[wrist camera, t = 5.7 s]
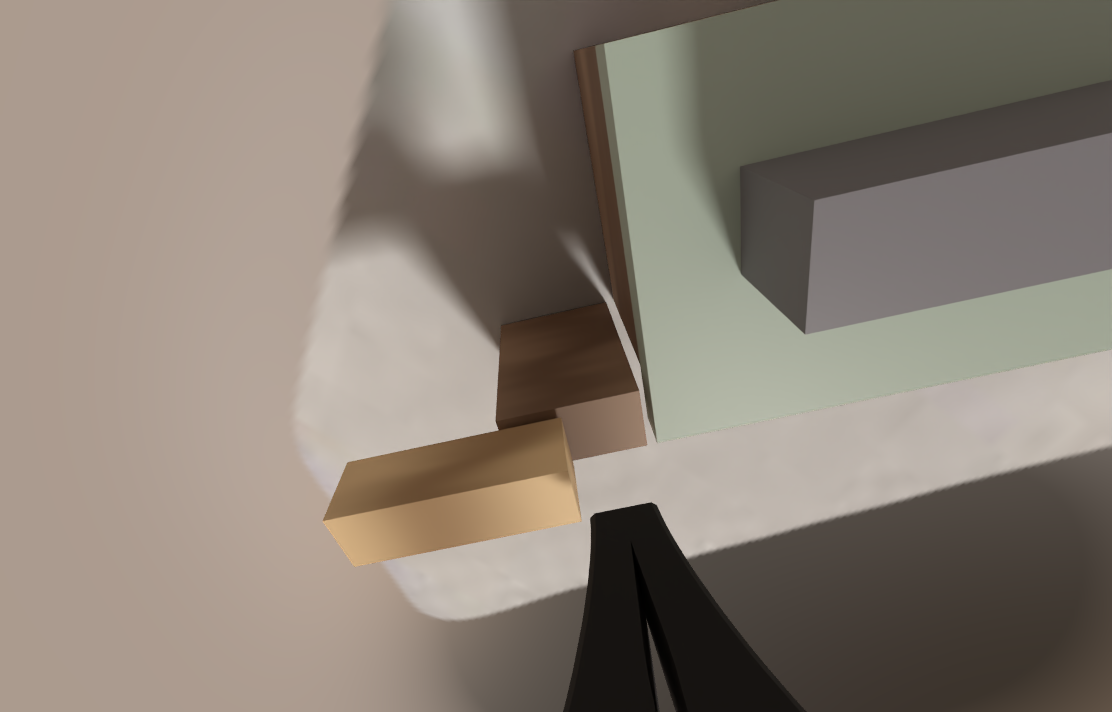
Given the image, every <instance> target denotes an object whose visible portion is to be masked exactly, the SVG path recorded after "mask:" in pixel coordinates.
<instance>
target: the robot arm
mask: <svg viewBox="0 0 1112 712" xmlns="http://www.w3.org/2000/svg"><path fill="white" fill-rule="evenodd" d="M590 522H591V554H590V567H589V578H588V586H587V593H586V600H585V608H584V615H583V622H582V627H581V632H580V637H579V643H578V648H577V653H576V658H575V663H574V668H573V673H572V678H571V682H570V686H569V690H568V694H567V699H566V703H565V707H564V711H563V712H659V705H658V698H657V691H656V683H655V677H654V670H653V663H652V656H651V649H650V642H649V635H648V628H647V622H648V625H649V628H650V631H651V635H652V637H653V641H654V644H655V647H656V650H657V654H658V657H659V660H660V663H661V666H662V669H663V673H664V676H665V679H666V682H667V685H668V688H669V691H670V695H671V698H672V701H673V704H674V707H675V710H676V712H806V711H805V710H804V709H803V707H801V705H800V704H799V703H798V702H797V701H796V700H795V699H794V698H793V697H792V695H791V694H790V693H789V692H788V691H787V690H786V688H785V687H784V686H783V685H782V684H781V683H780V681H779V680H778V679H777V678H776V677H775V676H774V675H773V674H772V672H771V671H770V670H769V669H768V668H767V666H766V665H765V664H764V663H763V662H762V660H761V659H760V658H759V657H758V655H757V654H756V653H755V652H754V651H753V649H752V648H751V647H750V646H749V644H748V643H747V642H746V641H745V639H744V638H743V637H742V636H741V634H740V633H739V632H738V630H737V629H736V628H735V627H734V625H733V624H732V623H731V621H730V620H729V619H728V618H727V616H726V615H725V614H724V612H723V611H722V609H721V608H720V607H719V605H718V604H717V603H716V602H715V600H714V599H713V597H712V596H711V594H710V593H709V591H708V590H707V589H706V587H705V586H704V584H703V583H702V582H701V580H700V579H699V577H698V576H697V575H696V573H695V571H694V570H693V568H692V567H691V565H690V564H689V562H688V561H687V559H686V558H685V556H684V554H683V553H682V551H681V550H680V548H679V546H678V545H677V543H676V542H675V540H674V538H673V536H672V535H671V533H670V531H669V529H668V527H667V526H666V524H665V522H664V520H663V518H662V516H661V514H660V511H659V509H658V507H657V505H655V504H653V503H645V504H640V505H635V506H630V507H625V508H620V509H615V510H610V511H605V512H600V513H595V514H594V515H593V516H592V517H591V518H590ZM646 619H647V621H646Z"/></svg>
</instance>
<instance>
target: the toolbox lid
mask: <svg viewBox="0 0 1112 712" xmlns="http://www.w3.org/2000/svg"><path fill="white" fill-rule="evenodd" d="M595 49H596V56H597V63H598V70H599V77H600V84H601V91H602V98H603V105H604V112H605V119H606V126H607V133H608V140H609V147H610V155H611V162H612V169H613V176H614V183H615V190H616V197H617V204H618V211H619V218H620V225H621V232H622V239H623V246H624V253H625V260H626V267H627V274H628V281H629V288H630V295H631V302H632V309H633V316H634V324H635V331H636V338H637V345H638V352H639V359H640V366H641V373H642V380H643V387H644V394H645V401H646V408H647V415H648V419H649V422H650V425H651V427H652V430H653V433H654V435H655V438H656V441H657V443H661V442H665V441H670V440H675V439H680V438H685V437H690V436H694V435H699V434H704V433H709V432H714V431H719V430H723V429H728V428H733V427H738V426H743V425H748V424H753V423H757V422H762V421H767V420H772V419H777V418H782V417H786V416H791V415H796V414H801V413H806V412H811V411H816V410H820V409H825V408H830V407H835V406H840V405H845V404H849V403H854V402H859V401H864V400H869V399H874V398H879V397H883V396H888V395H893V394H898V393H903V392H908V391H912V390H917V389H922V388H927V387H932V386H937V385H942V384H946V383H951V382H956V381H961V380H966V379H971V378H975V377H980V376H985V375H990V374H995V373H1000V372H1005V371H1009V370H1014V369H1019V368H1024V367H1029V366H1034V365H1038V364H1043V363H1048V362H1053V361H1058V360H1063V359H1068V358H1072V357H1077V356H1082V355H1087V354H1092V353H1097V352H1101V351H1106V350H1111V349H1112V0H778V1H774V2H770V3H766V4H762V5H758V6H754V7H750V8H746V9H741V10H737V11H733V12H729V13H725V14H721V15H717V16H713V17H709V18H705V19H701V20H697V21H693V22H689V23H685V24H681V25H677V26H673V27H669V28H665V29H661V30H657V31H653V32H649V33H645V34H641V35H637V36H633V37H629V38H625V39H621V40H617V41H613V42H609V43H605V44H601V45H597V46H595Z"/></svg>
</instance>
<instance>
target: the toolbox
mask: <svg viewBox="0 0 1112 712" xmlns="http://www.w3.org/2000/svg"><path fill="white" fill-rule="evenodd" d="M776 1H778V0H776ZM772 2H774V1H772ZM768 3H770V2H768ZM764 4H766V3H764ZM760 5H762V4H760ZM756 6H758V5H756ZM752 7H754V6H752ZM748 8H750V7H748ZM744 9H746V8H744ZM740 10H741V9H740ZM736 11H737V10H736ZM732 12H733V11H732ZM728 13H729V12H728ZM723 14H725V13H723ZM719 15H721V14H719ZM715 16H717V15H715ZM711 17H713V16H711ZM707 18H709V17H707ZM703 19H705V18H703ZM699 20H701V19H699ZM695 21H697V20H695ZM691 22H693V21H691ZM687 23H689V22H687ZM683 24H685V23H683ZM679 25H681V24H679ZM675 26H677V25H675ZM671 27H673V26H671ZM667 28H669V27H667ZM663 29H665V28H663ZM659 30H661V29H659ZM655 31H657V30H655ZM651 32H653V31H651ZM647 33H649V32H647ZM643 34H645V33H643ZM639 35H641V34H639ZM635 36H637V35H635ZM631 37H633V36H631ZM627 38H629V37H627ZM623 39H625V38H623ZM619 40H621V39H619ZM615 41H617V40H615ZM611 42H613V41H611ZM607 43H609V42H607ZM603 44H605V43H603ZM599 45H601V44H599ZM595 46H597V45H595ZM595 46H591V47H587V48H583V49H579V50H575V51H573V52H574V58H575V64H576V71H577V77H578V83H579V89H580V95H581V101H582V107H583V114H584V120H585V126H586V132H587V138H588V144H589V150H590V157H591V163H592V169H593V175H594V181H595V187H596V193H597V200H598V206H599V212H600V218H601V224H602V230H603V236H604V243H605V249H606V255H607V261H608V267H609V273H610V279H611V286H612V292H613V298H614V302H615V304H616V307H617V309H618V312H619V314H620V317H621V319H622V321H623V324H624V326H625V329H626V331H627V334H628V336H629V338H630V341H631V343H632V346H633V348H634V351H635V353H636V355H637V358H638V360H639V363H640V359H639V352H638V345H637V338H636V331H635V324H634V316H633V309H632V302H631V295H630V288H629V281H628V274H627V267H626V260H625V253H624V246H623V239H622V232H621V225H620V218H619V211H618V204H617V197H616V190H615V183H614V176H613V169H612V162H611V155H610V147H609V140H608V133H607V126H606V119H605V112H604V105H603V98H602V91H601V84H600V77H599V70H598V63H597V56H596V49H595ZM560 417H561V419H562V423H563V427H564V430H565V434H566V438H567V442H568V446H569V449H570V453H571V457H572V461H573V460H578V459H583V458H588V457H593V456H598V455H602V454H607V453H612V452H617V451H622V450H627V449H631V448H636V447H641V446H646V445H647V440H646V434H645V427H644V420H643V414H642V407H641V400H640V393H639V389H638V386H637V384H636V381H635V378H634V376H633V373H632V370H631V368H630V365H629V362H628V360H627V357H626V354H625V352H624V349H623V346H622V344H621V341H620V338H619V336H618V333H617V330H616V328H615V325H614V322H613V320H612V317H611V314H610V312H609V309H608V306H607V304H606V302H605V303H600V304H596V305H591V306H587V307H582V308H578V309H573V310H569V311H564V312H560V313H555V314H551V315H546V316H542V317H537V318H533V319H528V320H524V321H519V322H515V323H510V324H506V325H501V338H500V355H499V372H498V389H497V406H496V424H497V427H498V429H499V430H504V429H508V428H513V427H518V426H523V425H527V424H532V423H537V422H542V421H546V420H551V419H556V418H560Z"/></svg>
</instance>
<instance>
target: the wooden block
mask: <svg viewBox="0 0 1112 712" xmlns="http://www.w3.org/2000/svg"><path fill="white" fill-rule="evenodd" d="M323 522H324V524H325V525H326V527H327V528H328V530H329V531H330V533H331V534H332V535H333V537H334V538H335V540H336V541H337V543H338V544H339V545H340V547H341V548H342V550H343V551H344V552H345V554H346V555H347V557H348V558H349V560H350V561H351V563H352V564H353V566H354V567H356V566H361V565H366V564H370V563H376V562H381V561H386V560H391V559H396V558H401V557H406V556H411V555H416V554H421V553H426V552H431V551H436V550H441V549H446V548H451V547H456V546H461V545H466V544H471V543H476V542H481V541H486V540H491V539H496V538H501V537H506V536H511V535H516V534H521V533H526V532H531V531H536V530H541V529H546V528H551V527H556V526H561V525H566V524H571V523H576V522H581V514H580V506H579V499H578V492H577V485H576V478H575V471H574V465H573V461H572V457H571V453H570V449H569V446H568V442H567V438H566V434H565V430H564V427H563V423H562V419H561V417H560V418H556V419H551V420H546V421H542V422H537V423H532V424H527V425H523V426H518V427H513V428H508V429H504V430H499V431H494V432H489V433H485V434H480V435H475V436H470V437H466V438H461V439H456V440H451V441H447V442H442V443H437V444H433V445H428V446H423V447H418V448H414V449H409V450H404V451H399V452H395V453H390V454H385V455H380V456H376V457H371V458H366V459H361V460H357V461H352V462H347V465H346V467H345V469H344V472H343V474H342V477H341V479H340V481H339V484H338V486H337V488H336V491H335V493H334V495H333V498H332V500H331V502H330V505H329V507H328V510H327V512H326V514H325V517H324V519H323Z"/></svg>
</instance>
